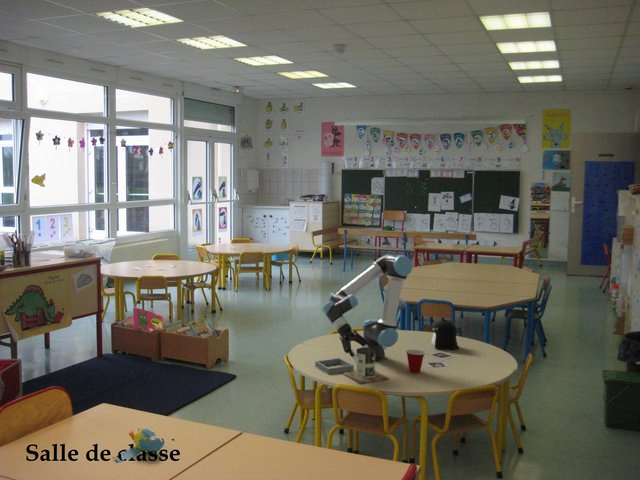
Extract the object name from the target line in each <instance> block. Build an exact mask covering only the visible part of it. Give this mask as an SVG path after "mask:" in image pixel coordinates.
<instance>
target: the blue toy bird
mask: <svg viewBox="0 0 640 480" xmlns="http://www.w3.org/2000/svg"><path fill="white" fill-rule="evenodd" d="M155 433H156V432H155V431H152V430H151V429H148V428H146V427H145V428H137V432H135V433H134V431H132V430H130V432H128V435H129V436H130V438H131V439H132V441H133V442H134V444H135V445H136V446H134V447H131V448H129V449H126V450H125V451H122V452H120V454H121V455H122V456H123V457H122V456H121V457H122V458H121V459H122V461H125V460H124V458H125V459H126V460H129V459H133V458H135V457H134V456H136V457H138V454H140V453H141V452H142V451H148V452H160V451H161V449H162V448H163V447H164V443H165V441H164V439H163V440H162V442H161V440H160V436H158V435H157V434H155ZM115 460H116V461H115ZM115 460H114V461H115V462H116V463H117V464H120V463H122V461H121V460H120V459H119V458H115ZM119 462H120V463H119Z"/></svg>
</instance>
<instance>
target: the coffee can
mask: <svg viewBox="0 0 640 480" xmlns="http://www.w3.org/2000/svg"><path fill="white" fill-rule="evenodd" d="M375 352H376V350H375V349H373V348H362V347H358V348H357V349H356V355H357V356H358V358H359V359H360V360H359V361H357V362H356V371H357V373H356V375H357V376H358V377H361V378H372V377H374V376H375V371H376V360H375Z"/></svg>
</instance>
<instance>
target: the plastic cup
mask: <svg viewBox="0 0 640 480" xmlns="http://www.w3.org/2000/svg"><path fill="white" fill-rule="evenodd" d="M405 352H406V355H407V365H408V370H409V373H410V372H411V374H420V373H421V369H422V365H423V360H424V356H425V354H426V352H425V351H423V350H419V349H406V351H405Z"/></svg>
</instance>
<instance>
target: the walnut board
mask: <svg viewBox="0 0 640 480" xmlns="http://www.w3.org/2000/svg"><path fill="white" fill-rule="evenodd" d="M356 373H357V370H353V371H347V372H342V375H343V376H345V377H346V378H349V379H350V380H352V381H354V382H355V383H357V384H358V385H364V384H371V383H377V382H382V381H389V379H390V378H389V377H388V376H386V375H384V374H382V373H380V372H379V371H376V370H375V376H374V377H372V378H361V377H358V376H357V375H356Z"/></svg>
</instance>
